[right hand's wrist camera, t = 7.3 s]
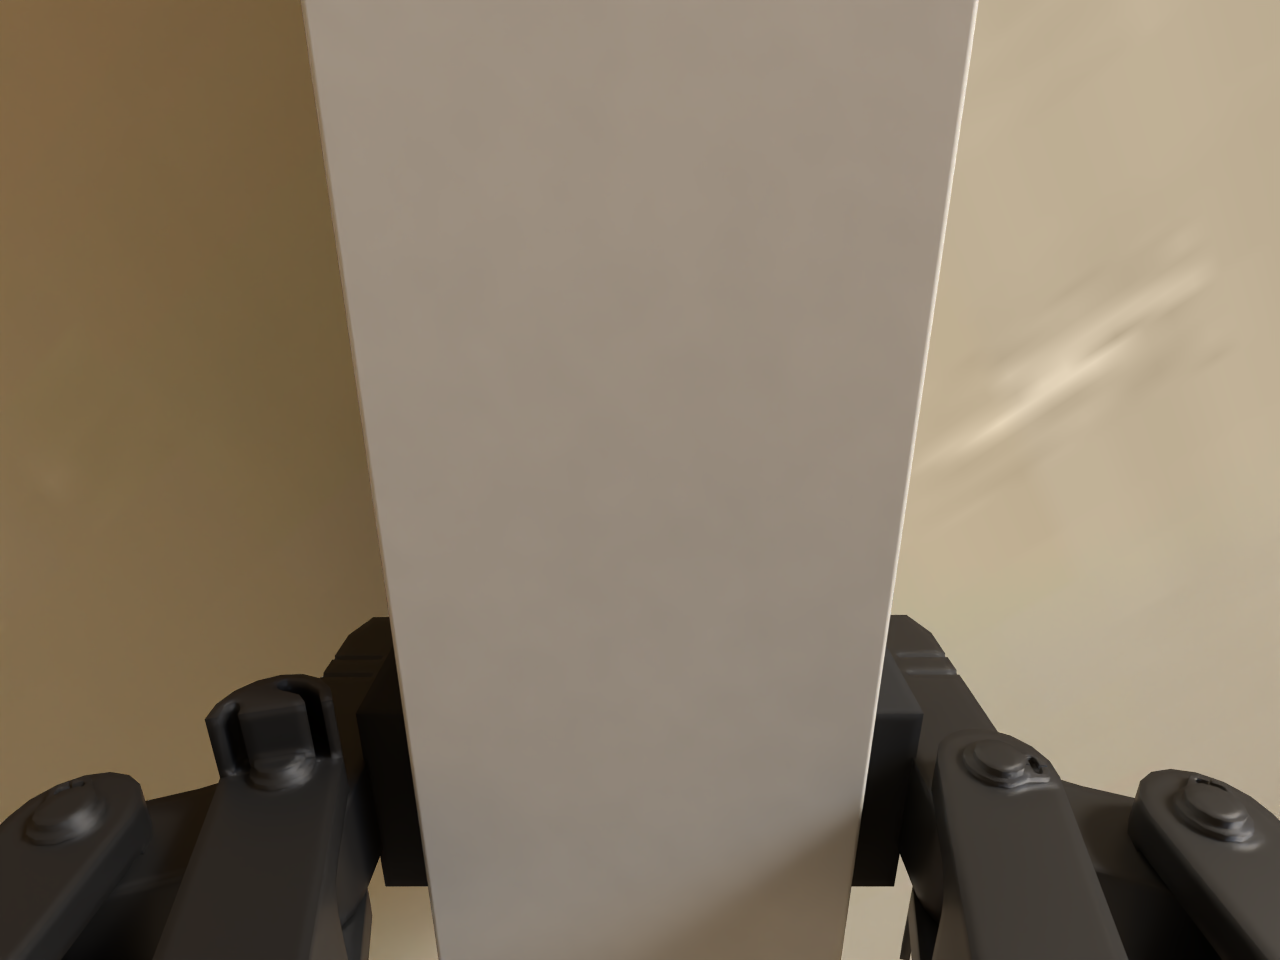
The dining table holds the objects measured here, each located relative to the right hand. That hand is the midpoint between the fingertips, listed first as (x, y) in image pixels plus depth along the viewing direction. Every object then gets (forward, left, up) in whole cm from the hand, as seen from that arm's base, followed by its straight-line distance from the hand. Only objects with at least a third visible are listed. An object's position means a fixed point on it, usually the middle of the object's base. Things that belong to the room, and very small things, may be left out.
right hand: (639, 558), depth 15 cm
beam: (+11, +20, -1) cm, 23 cm away
